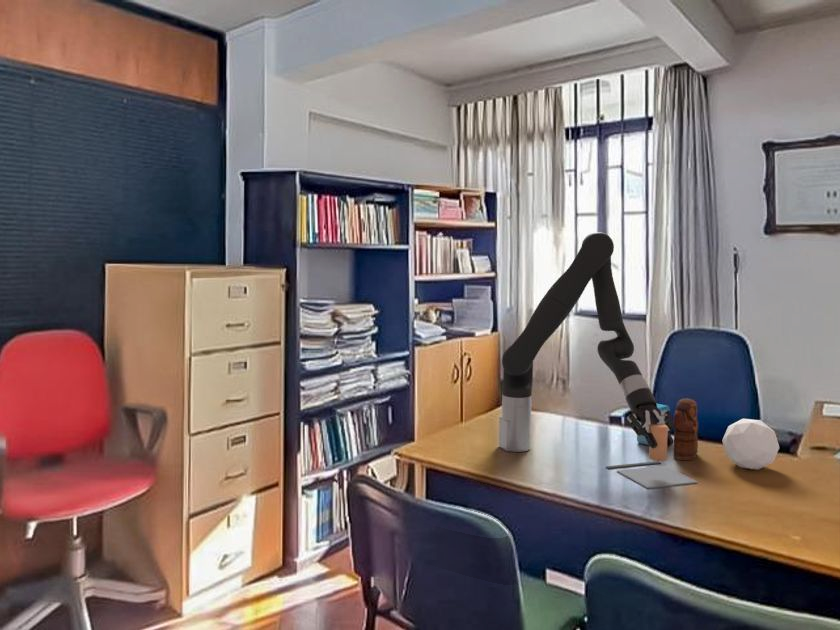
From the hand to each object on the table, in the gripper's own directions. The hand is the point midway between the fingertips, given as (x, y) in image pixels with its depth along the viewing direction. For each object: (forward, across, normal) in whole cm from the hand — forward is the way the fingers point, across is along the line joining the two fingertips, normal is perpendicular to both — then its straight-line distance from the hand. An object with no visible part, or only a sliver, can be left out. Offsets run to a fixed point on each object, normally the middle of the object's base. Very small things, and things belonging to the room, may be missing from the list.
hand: (662, 445), depth 183 cm
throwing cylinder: (+2, 0, +4) cm, 5 cm away
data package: (-16, +21, +30) cm, 39 cm away
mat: (+4, 0, +10) cm, 10 cm away
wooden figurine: (-4, +21, +18) cm, 28 cm away
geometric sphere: (+6, +32, +8) cm, 33 cm away
